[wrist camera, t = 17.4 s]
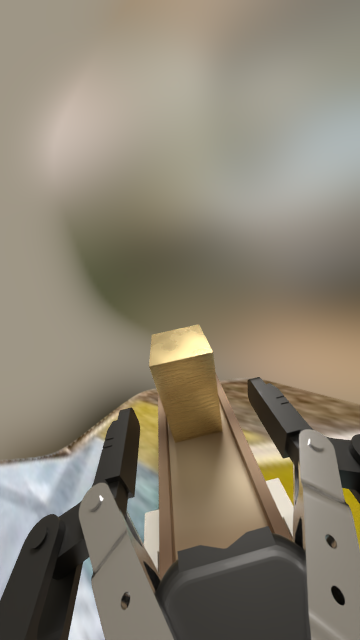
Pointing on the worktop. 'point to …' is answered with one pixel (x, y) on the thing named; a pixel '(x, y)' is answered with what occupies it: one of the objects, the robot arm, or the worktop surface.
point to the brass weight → (186, 382)
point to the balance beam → (210, 489)
